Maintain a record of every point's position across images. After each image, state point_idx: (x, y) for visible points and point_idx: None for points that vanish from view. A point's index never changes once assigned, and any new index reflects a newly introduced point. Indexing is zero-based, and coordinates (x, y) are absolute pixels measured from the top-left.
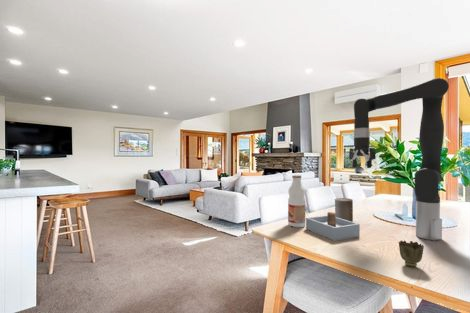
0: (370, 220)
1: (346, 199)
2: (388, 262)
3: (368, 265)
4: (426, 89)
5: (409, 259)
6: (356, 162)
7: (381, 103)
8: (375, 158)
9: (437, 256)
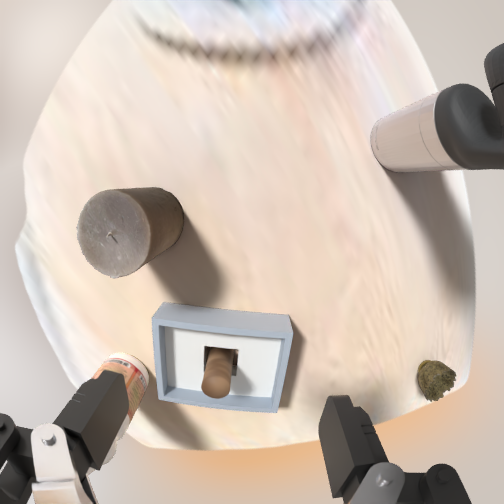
0: (183, 98)
1: (124, 232)
2: (397, 385)
3: (378, 416)
4: None
5: (430, 384)
6: (97, 422)
7: None
8: (454, 469)
9: (447, 282)
